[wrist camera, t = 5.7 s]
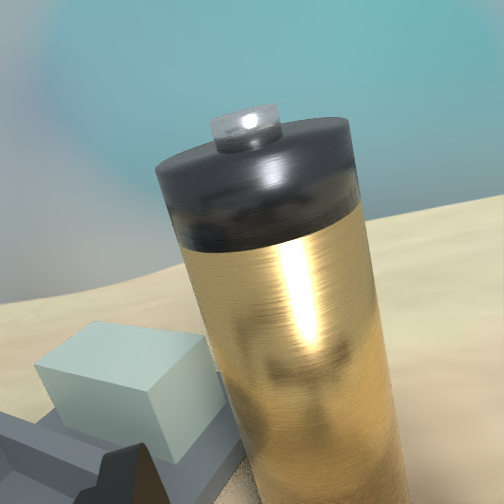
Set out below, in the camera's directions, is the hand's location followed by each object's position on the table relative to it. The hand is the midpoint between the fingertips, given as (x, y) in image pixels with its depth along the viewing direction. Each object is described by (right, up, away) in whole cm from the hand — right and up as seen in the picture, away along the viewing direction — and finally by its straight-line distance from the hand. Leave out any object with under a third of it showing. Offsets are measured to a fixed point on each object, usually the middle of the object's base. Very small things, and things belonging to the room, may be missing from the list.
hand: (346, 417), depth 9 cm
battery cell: (+1, -6, +8) cm, 10 cm away
